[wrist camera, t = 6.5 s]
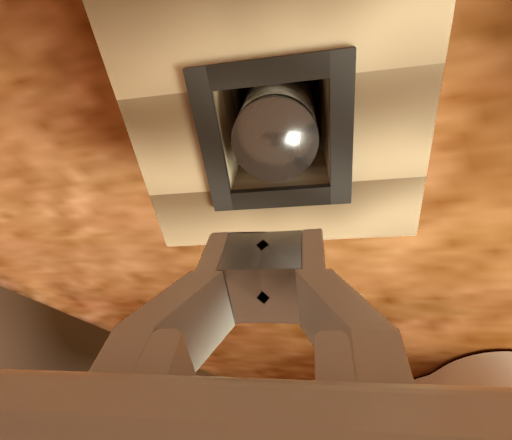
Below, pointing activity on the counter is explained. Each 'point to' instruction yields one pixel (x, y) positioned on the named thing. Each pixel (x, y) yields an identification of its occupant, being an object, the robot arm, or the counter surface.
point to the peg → (276, 131)
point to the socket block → (269, 73)
